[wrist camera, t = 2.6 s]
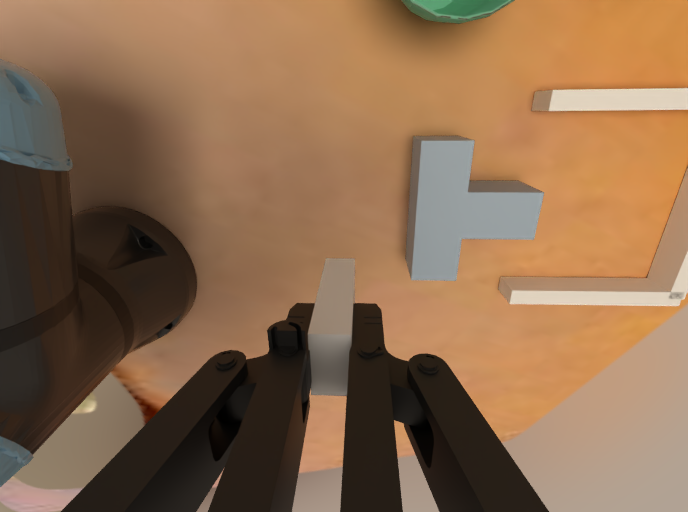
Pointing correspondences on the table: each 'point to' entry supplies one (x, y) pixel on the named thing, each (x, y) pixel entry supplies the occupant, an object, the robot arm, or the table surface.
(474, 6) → the mug
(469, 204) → the t block
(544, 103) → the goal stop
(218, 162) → the table surface
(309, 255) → the table surface
